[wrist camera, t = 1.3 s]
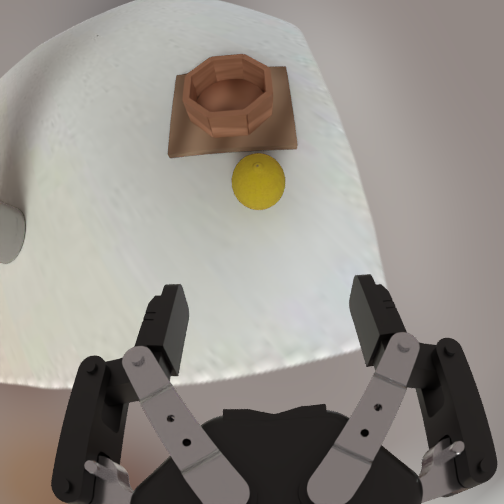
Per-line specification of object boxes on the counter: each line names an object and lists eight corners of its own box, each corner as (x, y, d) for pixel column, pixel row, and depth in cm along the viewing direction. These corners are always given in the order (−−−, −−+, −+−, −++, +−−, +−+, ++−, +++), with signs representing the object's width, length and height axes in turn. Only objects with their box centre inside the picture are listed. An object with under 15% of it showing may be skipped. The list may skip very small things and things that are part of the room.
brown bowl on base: (169, 158, 35) (156, 136, 30) (178, 79, 38) (169, 55, 32) (296, 149, 35) (301, 125, 29) (285, 70, 37) (287, 45, 32)
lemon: (261, 165, 35) (260, 130, 27) (292, 197, 34) (300, 169, 26) (225, 193, 34) (215, 164, 26) (256, 227, 34) (254, 206, 26)
